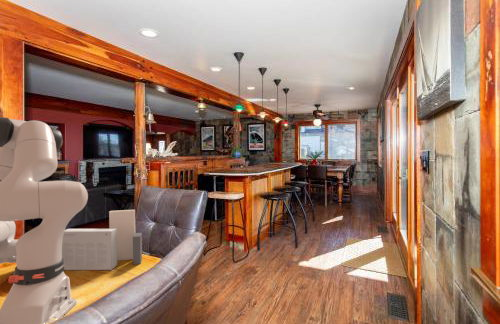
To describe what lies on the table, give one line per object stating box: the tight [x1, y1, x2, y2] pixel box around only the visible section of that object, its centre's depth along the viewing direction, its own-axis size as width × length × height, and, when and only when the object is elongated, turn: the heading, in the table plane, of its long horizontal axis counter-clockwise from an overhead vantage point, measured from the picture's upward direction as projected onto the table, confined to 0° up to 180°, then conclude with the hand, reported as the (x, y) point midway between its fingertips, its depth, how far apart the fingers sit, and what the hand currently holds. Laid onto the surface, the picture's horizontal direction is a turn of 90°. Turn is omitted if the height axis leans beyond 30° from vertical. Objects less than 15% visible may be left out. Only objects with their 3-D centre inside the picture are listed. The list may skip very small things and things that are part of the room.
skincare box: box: [62, 228, 118, 271], centre depth 114 cm, size 21×6×16 cm, turn 90°
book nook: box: [108, 209, 143, 265], centre depth 120 cm, size 8×13×22 cm, turn 105°
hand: (63, 247), depth 113 cm, fingers closed on skincare box, 3 cm apart
